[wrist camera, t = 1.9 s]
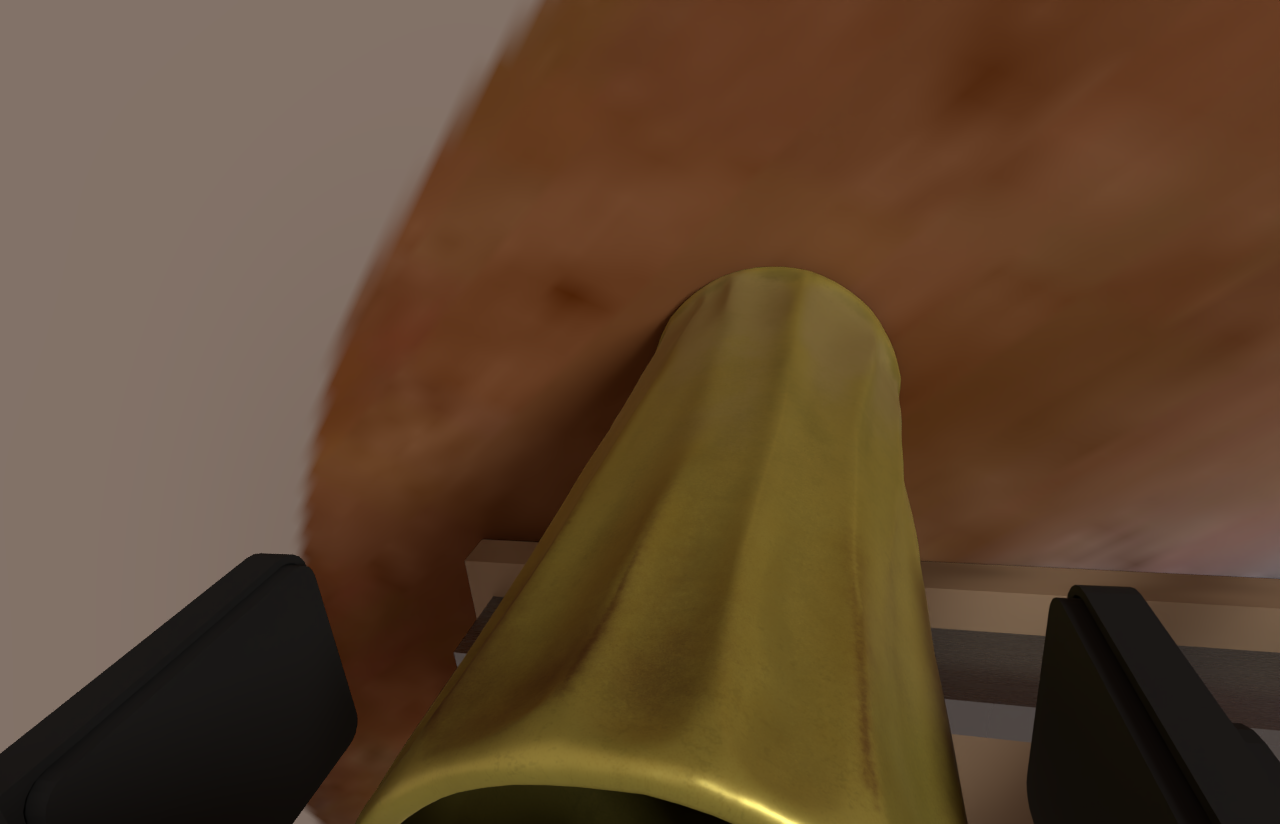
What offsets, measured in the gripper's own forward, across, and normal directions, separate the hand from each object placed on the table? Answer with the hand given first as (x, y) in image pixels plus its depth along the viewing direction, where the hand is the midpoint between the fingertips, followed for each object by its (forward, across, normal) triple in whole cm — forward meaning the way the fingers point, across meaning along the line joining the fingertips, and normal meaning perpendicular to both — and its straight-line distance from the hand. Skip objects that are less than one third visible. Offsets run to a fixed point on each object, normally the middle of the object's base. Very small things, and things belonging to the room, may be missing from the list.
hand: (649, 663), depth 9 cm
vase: (+11, -1, 0) cm, 11 cm away
